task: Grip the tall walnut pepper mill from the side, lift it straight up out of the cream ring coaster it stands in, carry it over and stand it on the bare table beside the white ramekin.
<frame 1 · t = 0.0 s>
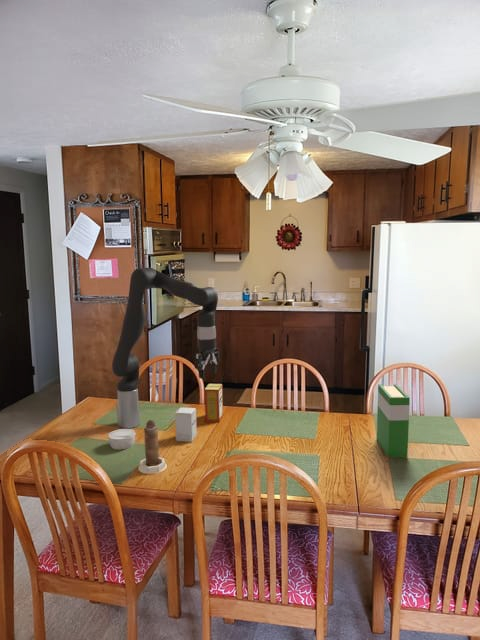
hand: (207, 375, 204), 29 cm above the table, tool pointing down, fingers open, 8 cm apart
hardback book: (391, 448, 201), on the table
supplement box: (186, 438, 215), on the table
baking soda box: (214, 418, 238), on the table
pepper mill: (152, 467, 186), point 1 cm above the table, touching ring coaster
ramekin: (122, 446, 208), on the table
ring coaster: (152, 469, 186), on the table
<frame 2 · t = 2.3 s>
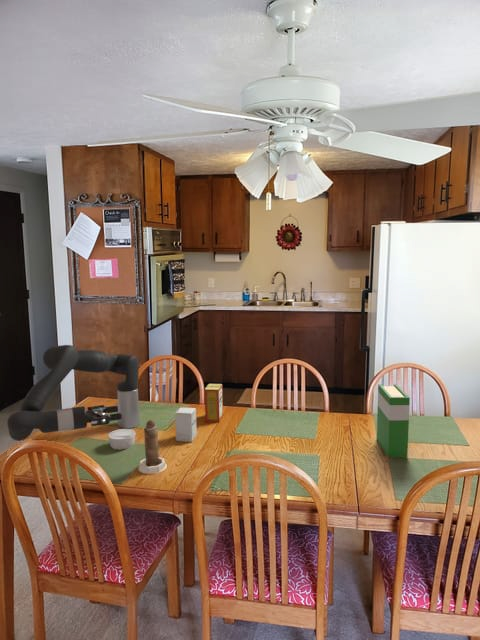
hand: (119, 412, 178), 24 cm above the table, tool horizontal, fingers open, 8 cm apart
nothing on the table moved.
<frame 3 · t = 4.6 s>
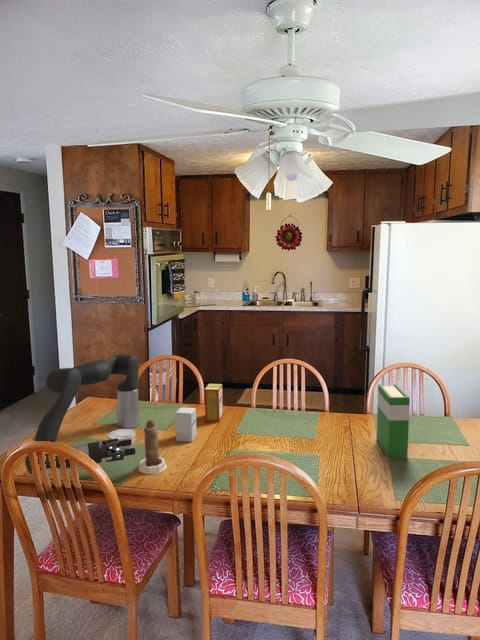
hand: (133, 446, 182), 10 cm above the table, tool horizontal, fingers open, 8 cm apart
nothing on the table moved.
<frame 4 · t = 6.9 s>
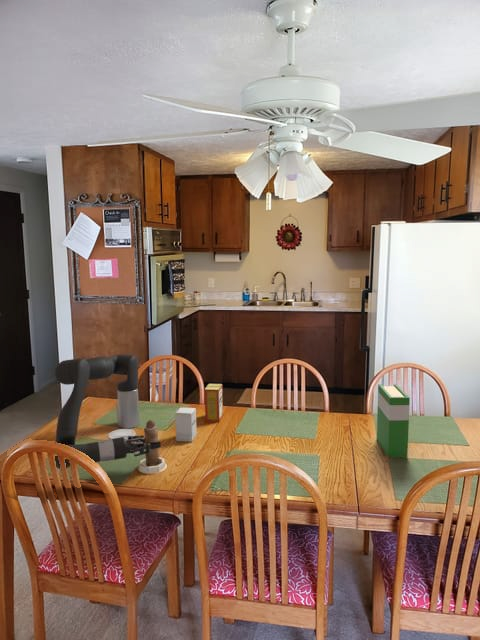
hand: (158, 441, 185), 10 cm above the table, tool horizontal, fingers closed on pepper mill, 4 cm apart
pepper mill: (152, 467, 186), point 1 cm above the table, touching gripper, ring coaster
everything else where it was.
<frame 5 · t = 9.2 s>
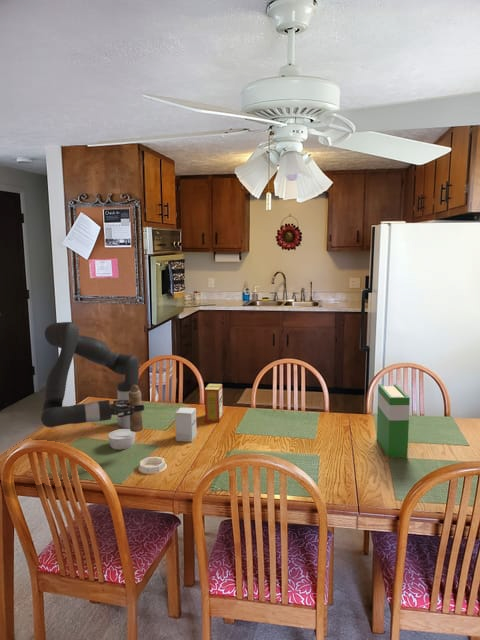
hand: (142, 405, 195), 21 cm above the table, tool horizontal, fingers closed on pepper mill, 4 cm apart
pepper mill: (136, 429, 196), point 11 cm above the table, touching gripper
everything else where it was.
when the fingers open (11 cm above the table, at t = 11.5 s): pepper mill drops 1 cm, on the table.
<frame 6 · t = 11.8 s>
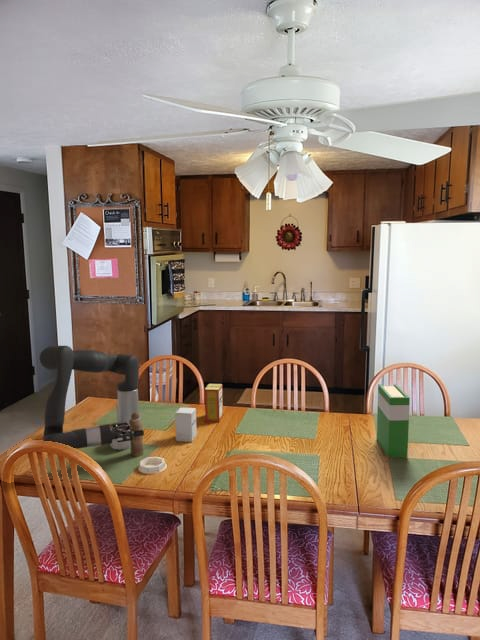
hand: (141, 429, 196), 11 cm above the table, tool horizontal, fingers open, 7 cm apart
pepper mill: (137, 456, 197), on the table
everything else where it was.
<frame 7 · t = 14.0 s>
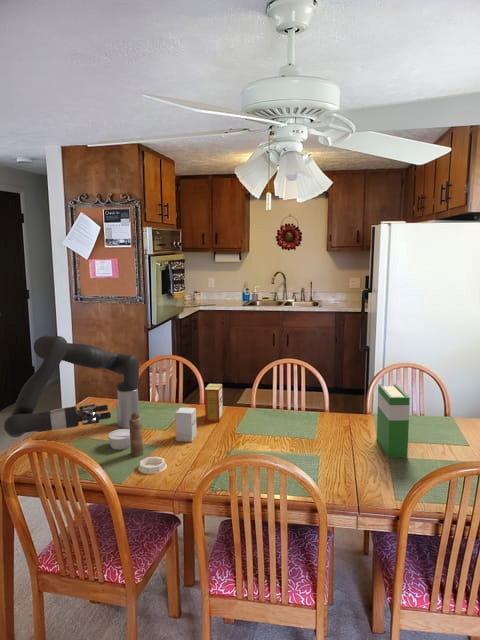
hand: (109, 411, 190), 20 cm above the table, tool horizontal, fingers open, 8 cm apart
nothing on the table moved.
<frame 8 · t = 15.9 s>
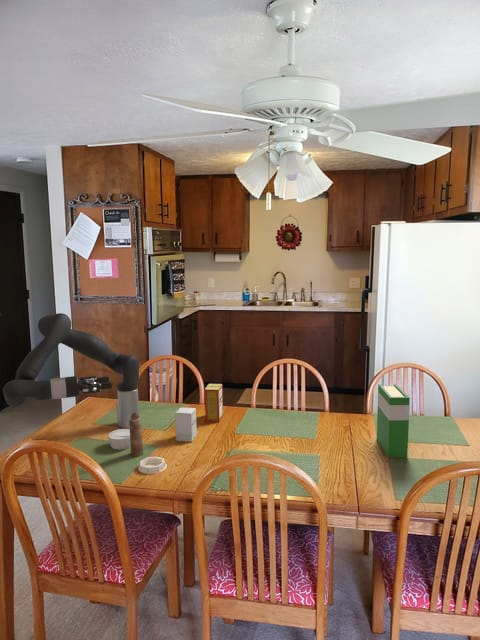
hand: (110, 382, 187), 32 cm above the table, tool horizontal, fingers open, 8 cm apart
nothing on the table moved.
at the end: pepper mill inside the target area (0.1 cm from its centre), on the table; pepper mill tilted 0°; pepper mill touching table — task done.
